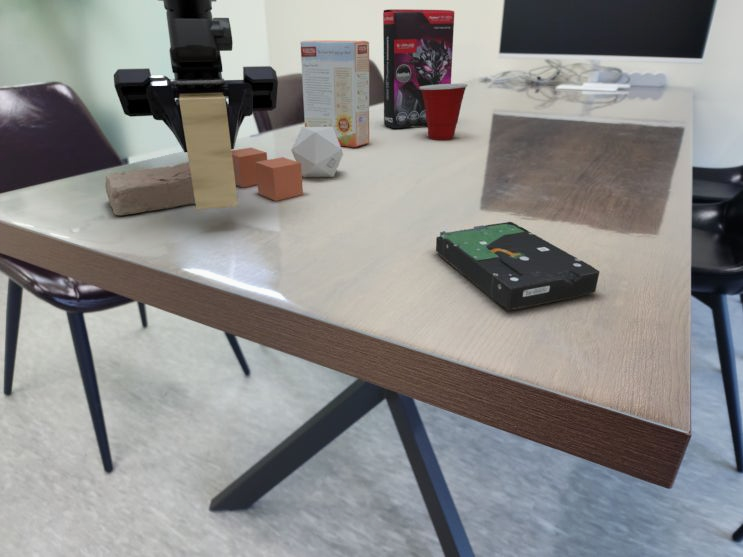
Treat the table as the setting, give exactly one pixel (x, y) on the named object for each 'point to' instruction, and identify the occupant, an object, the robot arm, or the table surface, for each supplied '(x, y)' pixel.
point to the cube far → (246, 165)
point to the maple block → (209, 149)
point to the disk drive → (516, 265)
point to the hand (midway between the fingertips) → (209, 149)
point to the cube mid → (279, 178)
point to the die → (317, 151)
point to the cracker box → (337, 88)
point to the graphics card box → (414, 61)
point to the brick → (150, 189)
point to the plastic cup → (442, 108)
